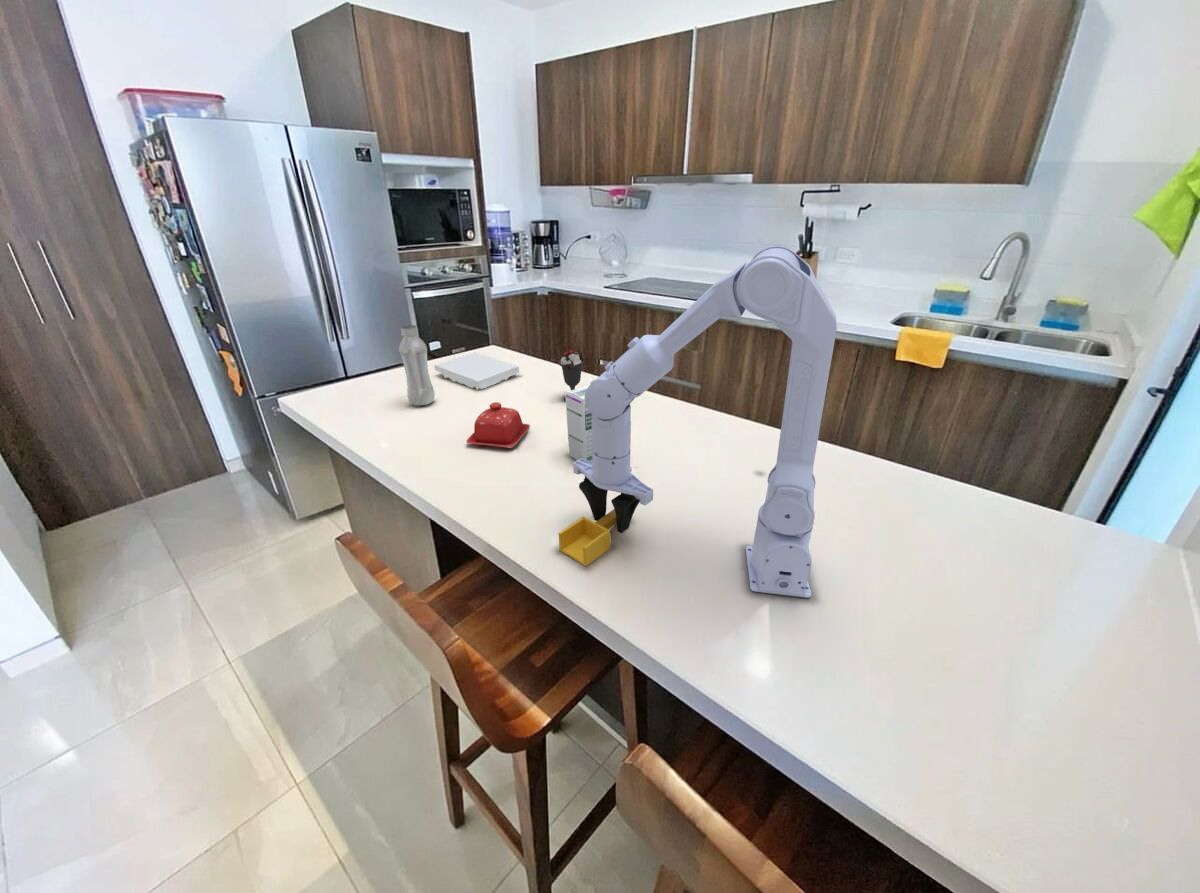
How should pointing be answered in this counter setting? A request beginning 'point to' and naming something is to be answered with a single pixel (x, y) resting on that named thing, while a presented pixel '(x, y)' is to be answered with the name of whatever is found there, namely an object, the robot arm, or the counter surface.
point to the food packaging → (477, 370)
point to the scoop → (587, 538)
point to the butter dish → (498, 427)
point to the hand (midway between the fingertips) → (611, 523)
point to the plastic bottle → (416, 367)
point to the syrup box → (579, 424)
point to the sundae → (571, 367)
